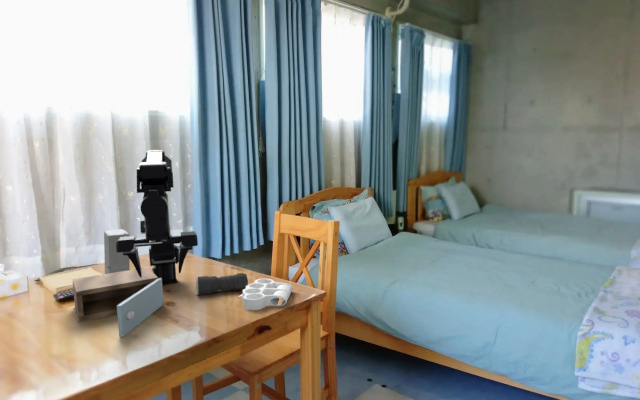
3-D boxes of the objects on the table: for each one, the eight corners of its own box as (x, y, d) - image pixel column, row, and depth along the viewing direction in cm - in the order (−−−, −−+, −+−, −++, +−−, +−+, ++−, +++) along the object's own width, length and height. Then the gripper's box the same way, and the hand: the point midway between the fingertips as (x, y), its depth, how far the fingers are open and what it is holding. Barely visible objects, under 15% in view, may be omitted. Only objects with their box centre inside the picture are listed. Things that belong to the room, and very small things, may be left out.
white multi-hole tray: (284, 312, 118) (231, 310, 119) (294, 289, 135) (248, 288, 137) (283, 300, 117) (230, 299, 118) (294, 278, 135) (247, 278, 136)
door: (160, 303, 123) (159, 277, 122) (168, 304, 123) (166, 278, 122) (119, 336, 103) (116, 305, 102) (127, 336, 103) (125, 306, 101)
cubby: (150, 292, 133) (148, 267, 132) (159, 304, 123) (157, 277, 122) (75, 306, 122) (72, 279, 121) (78, 321, 112) (76, 291, 111)
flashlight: (246, 286, 138) (246, 269, 138) (249, 291, 133) (248, 274, 132) (196, 291, 134) (195, 274, 133) (197, 297, 128) (196, 280, 128)
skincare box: (104, 276, 149) (100, 230, 147) (126, 272, 153) (123, 228, 151) (109, 282, 143) (105, 235, 140) (132, 278, 147) (129, 232, 144)
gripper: (194, 207, 119) (197, 262, 121) (119, 211, 113) (123, 270, 115) (196, 213, 108) (199, 274, 110) (113, 218, 102) (118, 282, 104)
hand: (160, 274), depth 110 cm, fingers open, 9 cm apart
